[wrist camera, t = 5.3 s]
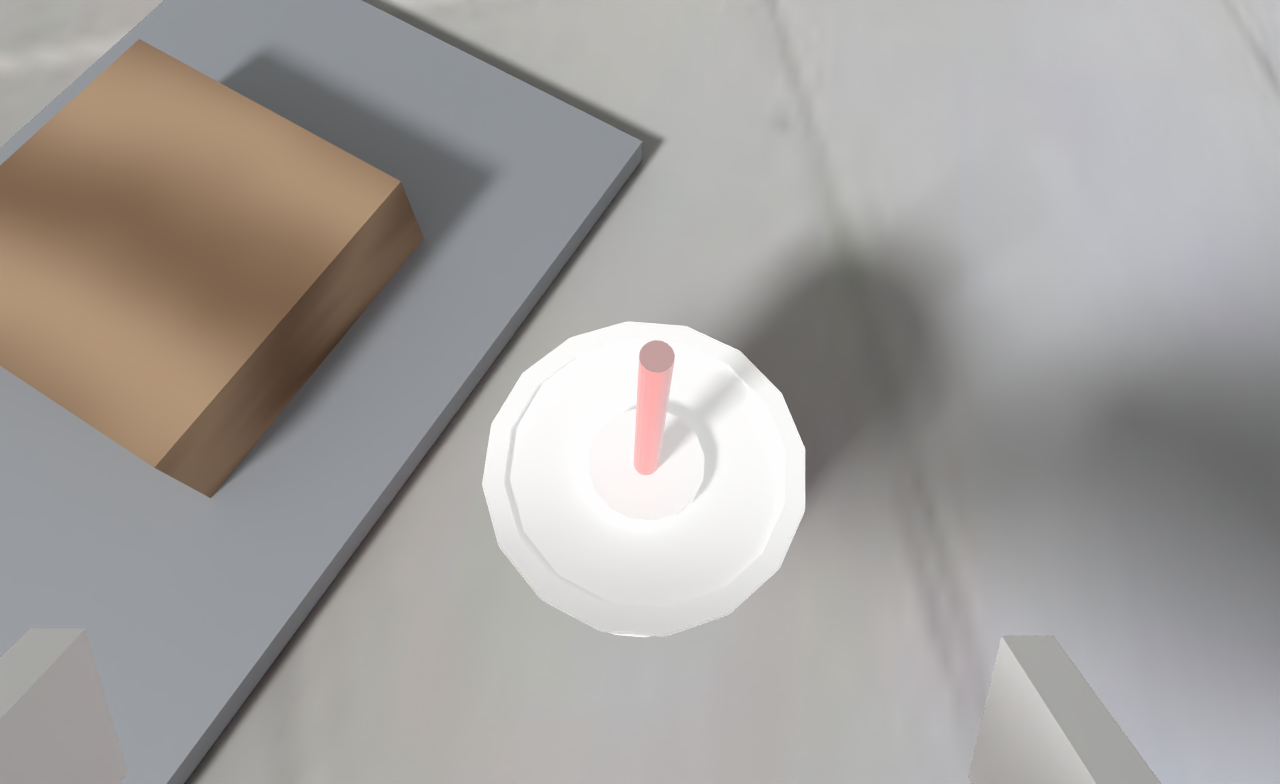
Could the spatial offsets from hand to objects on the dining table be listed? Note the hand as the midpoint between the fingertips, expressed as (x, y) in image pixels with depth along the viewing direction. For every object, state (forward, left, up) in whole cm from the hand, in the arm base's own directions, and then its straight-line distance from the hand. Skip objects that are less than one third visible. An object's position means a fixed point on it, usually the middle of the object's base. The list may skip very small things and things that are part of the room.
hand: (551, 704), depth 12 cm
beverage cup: (-4, -1, -11) cm, 12 cm away
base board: (-4, -17, -11) cm, 21 cm away
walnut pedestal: (-4, -17, -11) cm, 21 cm away
